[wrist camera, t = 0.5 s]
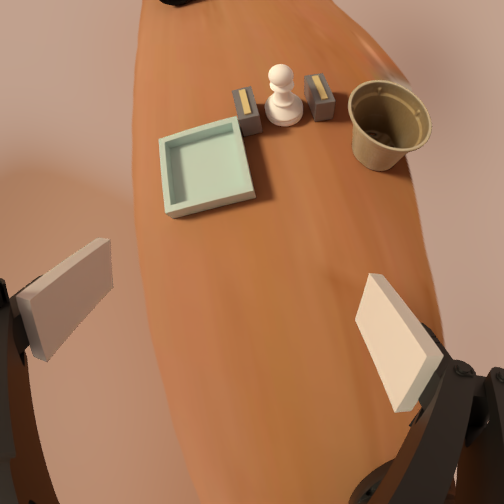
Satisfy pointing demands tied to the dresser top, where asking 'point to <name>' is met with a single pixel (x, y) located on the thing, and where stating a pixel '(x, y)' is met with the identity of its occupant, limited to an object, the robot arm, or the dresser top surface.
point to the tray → (205, 168)
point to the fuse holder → (314, 92)
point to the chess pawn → (283, 98)
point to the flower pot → (386, 123)
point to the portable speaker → (174, 2)
